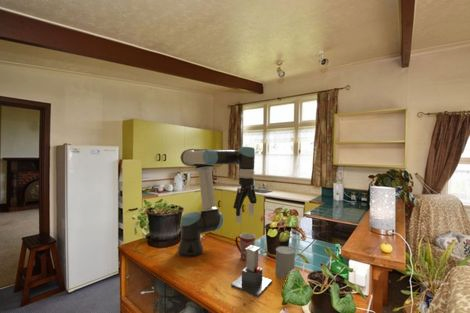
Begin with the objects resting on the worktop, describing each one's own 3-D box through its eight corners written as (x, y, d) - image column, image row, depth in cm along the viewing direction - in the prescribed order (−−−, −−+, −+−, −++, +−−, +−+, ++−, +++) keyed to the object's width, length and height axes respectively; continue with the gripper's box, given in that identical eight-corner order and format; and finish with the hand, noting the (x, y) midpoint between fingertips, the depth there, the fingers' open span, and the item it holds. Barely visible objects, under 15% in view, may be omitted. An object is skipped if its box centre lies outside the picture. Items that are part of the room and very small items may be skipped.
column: (244, 282, 108) (245, 248, 108) (250, 277, 112) (250, 244, 112) (254, 286, 105) (254, 251, 105) (259, 281, 110) (259, 247, 109)
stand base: (231, 286, 107) (231, 268, 107) (246, 273, 119) (247, 256, 118) (258, 297, 99) (258, 277, 99) (272, 282, 111) (272, 264, 111)
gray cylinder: (290, 280, 112) (291, 255, 112) (272, 275, 117) (272, 251, 117) (296, 272, 120) (297, 248, 120) (279, 267, 125) (279, 244, 125)
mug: (257, 258, 136) (258, 235, 135) (249, 263, 128) (249, 239, 128) (240, 252, 143) (240, 230, 143) (231, 257, 136) (231, 234, 136)
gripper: (240, 180, 105) (239, 226, 106) (263, 175, 126) (262, 214, 127) (226, 179, 109) (225, 223, 110) (251, 174, 130) (250, 211, 131)
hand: (245, 218), depth 118 cm, fingers open, 13 cm apart
